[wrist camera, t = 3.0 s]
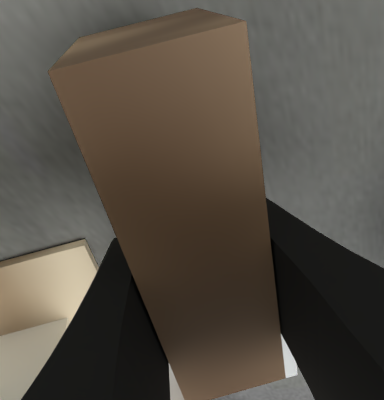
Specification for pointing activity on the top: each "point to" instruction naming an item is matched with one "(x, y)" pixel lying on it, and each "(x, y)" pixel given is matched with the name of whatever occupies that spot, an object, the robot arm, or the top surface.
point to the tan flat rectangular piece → (44, 286)
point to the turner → (184, 190)
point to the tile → (26, 356)
